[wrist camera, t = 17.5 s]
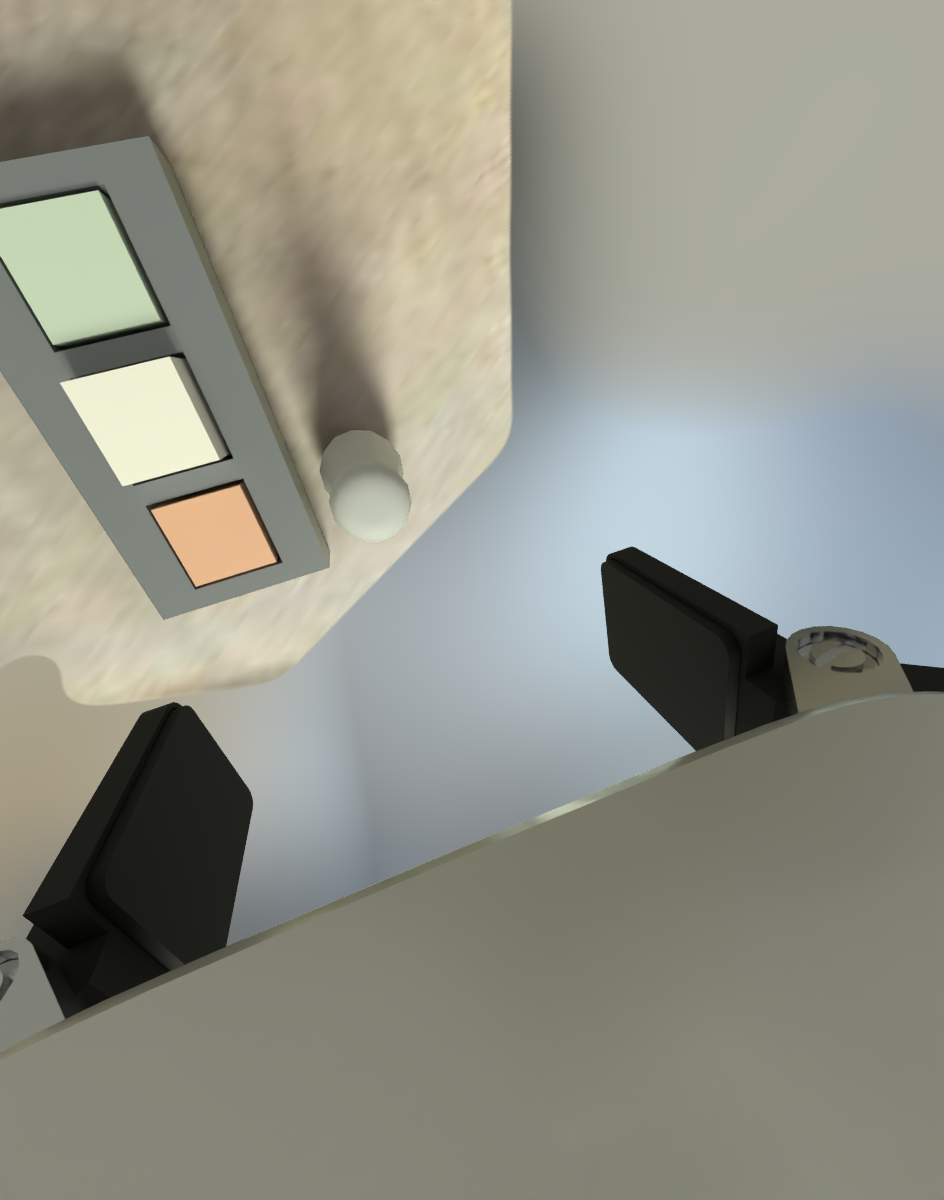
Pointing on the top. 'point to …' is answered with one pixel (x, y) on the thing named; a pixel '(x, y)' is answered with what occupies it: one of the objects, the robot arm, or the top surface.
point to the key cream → (148, 419)
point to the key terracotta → (216, 532)
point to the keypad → (198, 333)
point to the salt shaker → (365, 485)
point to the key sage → (79, 269)
